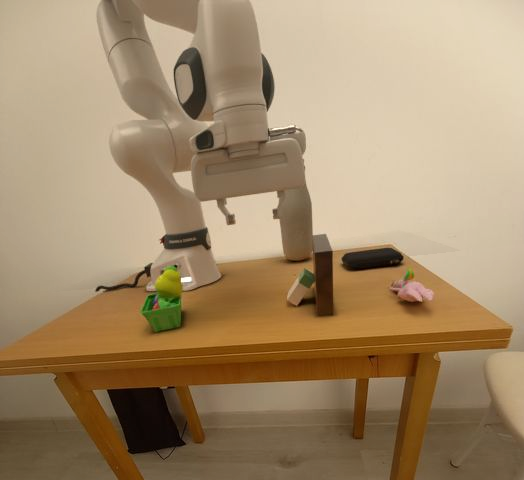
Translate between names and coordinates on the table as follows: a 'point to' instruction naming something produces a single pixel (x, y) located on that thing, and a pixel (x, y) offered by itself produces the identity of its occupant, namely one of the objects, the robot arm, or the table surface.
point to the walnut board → (323, 274)
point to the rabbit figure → (411, 289)
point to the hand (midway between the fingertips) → (254, 221)
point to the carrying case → (372, 258)
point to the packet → (300, 287)
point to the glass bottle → (297, 224)
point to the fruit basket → (165, 301)
